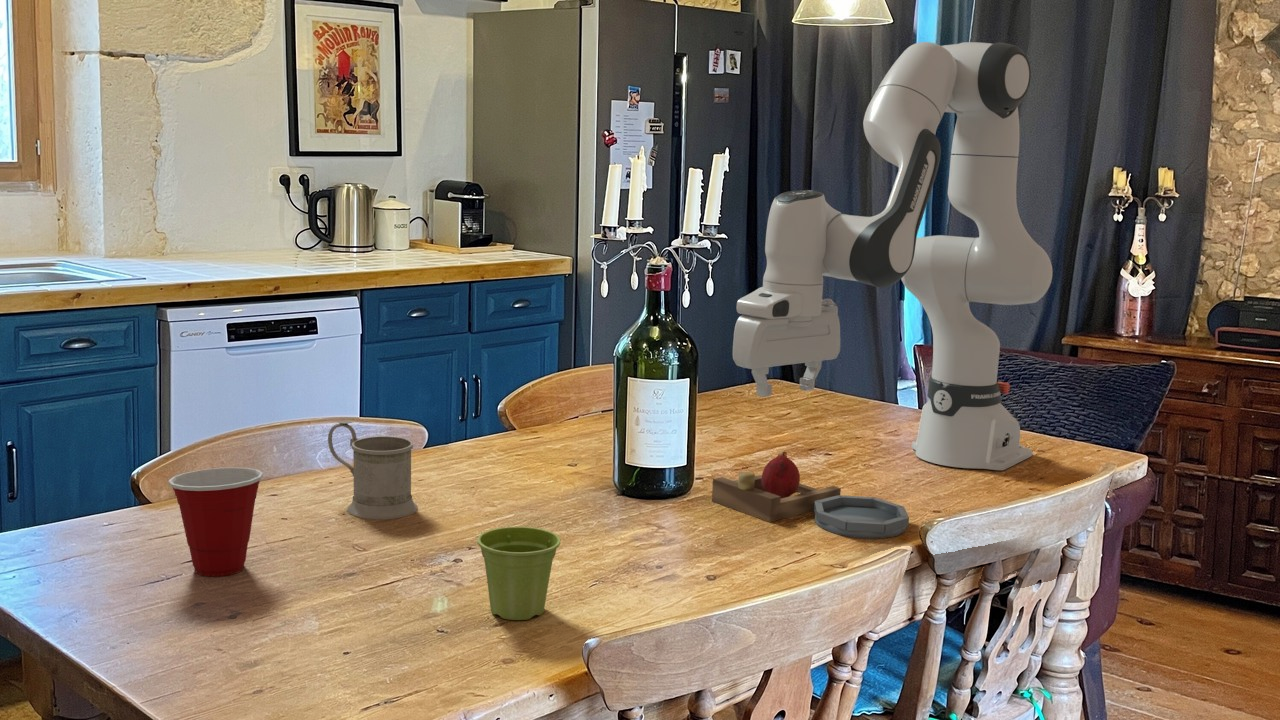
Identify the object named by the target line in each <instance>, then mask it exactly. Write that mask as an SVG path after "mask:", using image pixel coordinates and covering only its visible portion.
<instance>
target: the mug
mask: <svg viewBox="0 0 1280 720" xmlns="http://www.w3.org/2000/svg"><path fill="white" fill-rule="evenodd" d="M353 422H354V421H353V420H349V419H345V420H338V421H337V423H335V424H334V425H332V426H331V428H329V431H328V435H327V443H328V448H329V451H330V453H331V455H332V456H333V458H334V459H335V460H337V461H338V462H339V463H341V464H342V465H343V466H345V468H347V469H348V470H350V471H349V472H350V473H351V474H352V477H353V496H352V502H351V503H350V504H349V505H348V506H347V507H346V509H347V510H346V512H347V513H348V514H349V515H350V516H353V517H355V518H359V519H364V520H374V521H376V520H377V521H379V520H381V521H382V520H383V521H384V520H387V521H388V520H394V519H395V520H396V519H401V518H405V517H408V516H410V515H413V514H415V513H416V512H418V505H417V504H416V502H414V501H413V495H412V449H413V448H414V443H413V441H412V440H410V439H407V438H405V437H400V436H390V435H389V436H388V435H386V436H384V435H383V436H382V435H380V436H368V437H362V438H359V437H358V438H357V434H356V431H355V429H354V427H352V426H351V425H349V424H351V423H353ZM341 427H343V428H347V429H348V431H350V433H351V437H352V438H350V439H349V441H350V442H349V445H350V447H351V450H353V466H352V465H351V464H350V463H349V462H347V461H346V460H344V459H342V458H341V457H340V456H339V455H338V453H336V451H335V448H334V444H333V433H334V432H335V430H336V429H337V428H341Z"/></svg>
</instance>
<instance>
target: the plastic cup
mask: <svg viewBox="0 0 1280 720" xmlns="http://www.w3.org/2000/svg"><path fill="white" fill-rule="evenodd" d="M263 476H264V472H262V471H261V470H260V469H255V468H249V467H215V468H205V469H198V470H193V471H189V472H183V473H181V474H177V475H175V476H172V477H171V478H170V479H169V480H168V481H167V483H168V484H169V486H170V487H171V488H172V490H173V491H174V492H173V493H174V495H175V497H176V500H177V504H178V506H179V510H180V514H181V519H182V523H183V530H184V533H185V537H186V542H187V545H188V548H189V553H190V558H191V563H192V566H193V567H194V568H193V569H194V571H195V572H196V574H198V575H201V576H205V577H225V576H232V575H233V574H238V573H239V572H241V571H242V570H243V569H244V567H245V563H246V560H247V553H248V545H249V541H250V538H251V537H250V536H251V530H252V523H253V519H254V518H253V517H254V512H255V511H254V509H255V505H256V504H255V503H256V499H257V495H258V494H257V493H258V490H259V484H260V482H261V480H262V479H263Z"/></svg>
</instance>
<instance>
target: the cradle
mask: <svg viewBox="0 0 1280 720" xmlns="http://www.w3.org/2000/svg"><path fill="white" fill-rule="evenodd" d="M711 488H712V493H711V502H712V503H716V504H718V505H721V506H724V507H726V508H728V509H731V510H732V509H733V510H735V511H738V512H741V513H742V514H746V515H749V516H751V517H755V518H756V519H760V520H763V521H766V522H768V523H771V522H775V521H780V520H784V519H787V518H791V517H795V516H799V515H803V514H807V513H811V512H815V511H814V503H815V501H817V500H821V499H825V498H829V497H833V496H837V495H841V491H842V490H841V488H840V487H839V486H838V487H837V486H835V485H833V486H828V487H823V488H819V489H818V488H814V487H812V486H809V485H806V484H803V483H799V486H798V489H797V490H796V491H795V493H796V492H798V493H799V494H793V495H791V496H789V497H786V498H781V496H778V495H775V494H772V493H769V492H766V491H765V489H764V487H763V485H762V474H759V475H755V473H753V472H745V471H744V472H739V473H738V479H737V480H736V479H734V480H732V479H730V478H726V477H724V476H721V477H715V478H712V487H711Z"/></svg>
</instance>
